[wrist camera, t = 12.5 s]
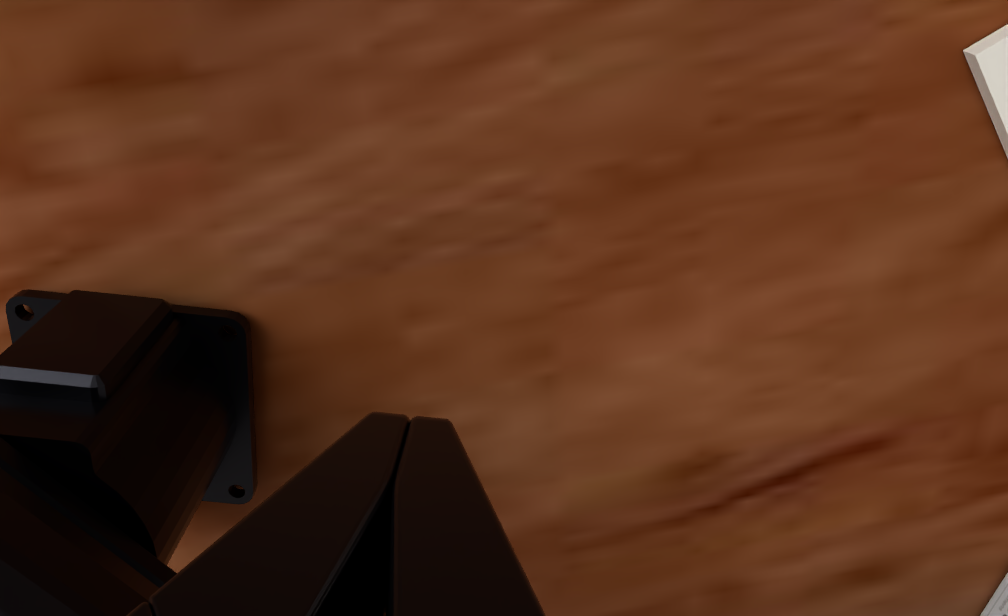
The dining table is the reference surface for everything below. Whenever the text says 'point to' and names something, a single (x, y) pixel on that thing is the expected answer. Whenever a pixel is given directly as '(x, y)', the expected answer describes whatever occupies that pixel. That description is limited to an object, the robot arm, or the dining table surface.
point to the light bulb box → (998, 601)
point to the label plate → (992, 77)
